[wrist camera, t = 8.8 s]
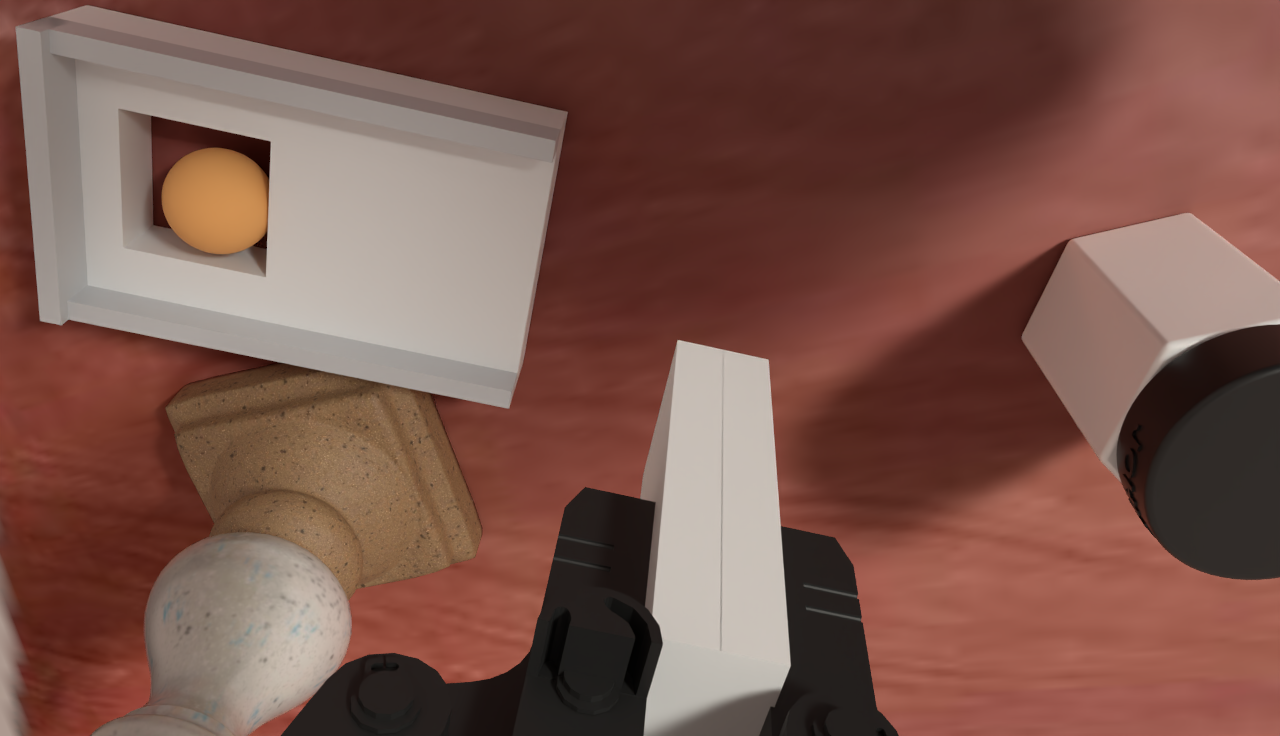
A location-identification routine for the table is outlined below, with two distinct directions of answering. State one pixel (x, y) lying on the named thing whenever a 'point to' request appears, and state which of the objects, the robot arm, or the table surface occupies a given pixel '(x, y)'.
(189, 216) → the ball
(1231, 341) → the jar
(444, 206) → the tray
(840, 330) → the table surface
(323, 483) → the candle holder
